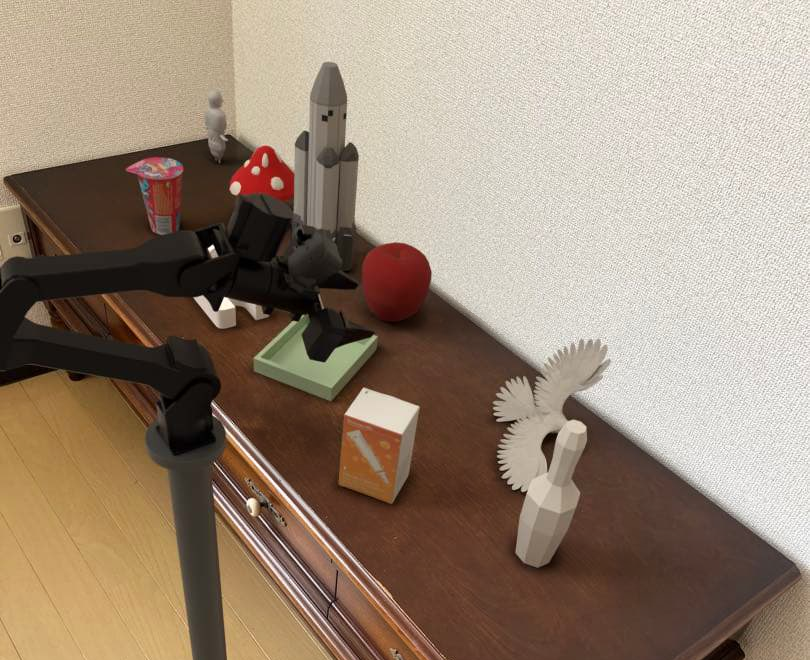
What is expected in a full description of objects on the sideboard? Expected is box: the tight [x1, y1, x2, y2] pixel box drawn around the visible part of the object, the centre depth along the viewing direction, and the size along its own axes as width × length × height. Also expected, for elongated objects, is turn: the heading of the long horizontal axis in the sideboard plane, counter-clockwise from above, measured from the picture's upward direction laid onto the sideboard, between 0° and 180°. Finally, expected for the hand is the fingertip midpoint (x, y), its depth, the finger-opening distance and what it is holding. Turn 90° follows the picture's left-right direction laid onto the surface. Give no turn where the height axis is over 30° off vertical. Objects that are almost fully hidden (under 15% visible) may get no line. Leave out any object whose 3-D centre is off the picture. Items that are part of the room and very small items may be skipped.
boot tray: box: [253, 314, 379, 402], centre depth 130 cm, size 16×14×3 cm
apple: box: [361, 241, 433, 323], centre depth 137 cm, size 12×12×13 cm
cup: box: [125, 156, 184, 236], centre depth 150 cm, size 9×8×12 cm
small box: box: [338, 387, 421, 505], centre depth 108 cm, size 8×6×13 cm
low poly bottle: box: [515, 419, 588, 569], centre depth 99 cm, size 6×6×22 cm
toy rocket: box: [290, 61, 360, 273], centre depth 140 cm, size 12×9×35 cm
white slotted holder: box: [192, 245, 270, 330], centre depth 137 cm, size 10×18×11 cm, turn 34°
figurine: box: [201, 89, 229, 164], centre depth 172 cm, size 9×4×15 cm, turn 42°
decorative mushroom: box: [229, 145, 295, 203], centre depth 156 cm, size 14×14×15 cm
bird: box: [492, 338, 612, 493], centre depth 120 cm, size 21×16×15 cm
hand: (364, 309), depth 113 cm, fingers open, 9 cm apart
